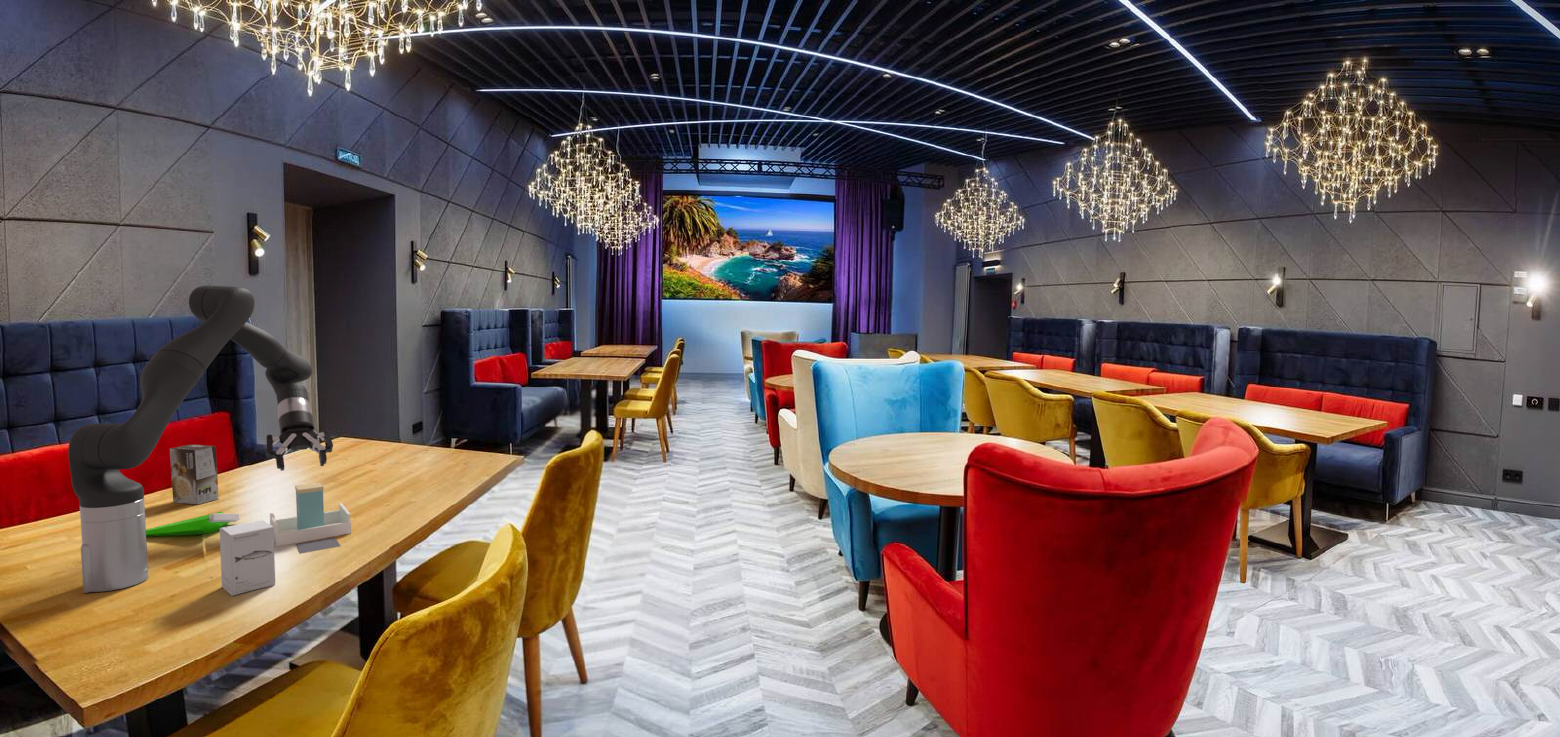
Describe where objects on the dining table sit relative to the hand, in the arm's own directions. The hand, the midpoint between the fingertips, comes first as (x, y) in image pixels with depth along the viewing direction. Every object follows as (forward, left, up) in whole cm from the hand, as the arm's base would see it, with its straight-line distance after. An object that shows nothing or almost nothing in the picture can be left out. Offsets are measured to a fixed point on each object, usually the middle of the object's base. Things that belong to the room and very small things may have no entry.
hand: (303, 466), depth 171 cm
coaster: (0, -21, -16) cm, 26 cm away
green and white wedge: (-25, +9, -16) cm, 31 cm away
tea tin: (0, -10, -15) cm, 18 cm away
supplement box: (-14, -39, -16) cm, 44 cm away
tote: (0, -10, -16) cm, 19 cm away
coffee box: (-21, +44, -16) cm, 51 cm away
